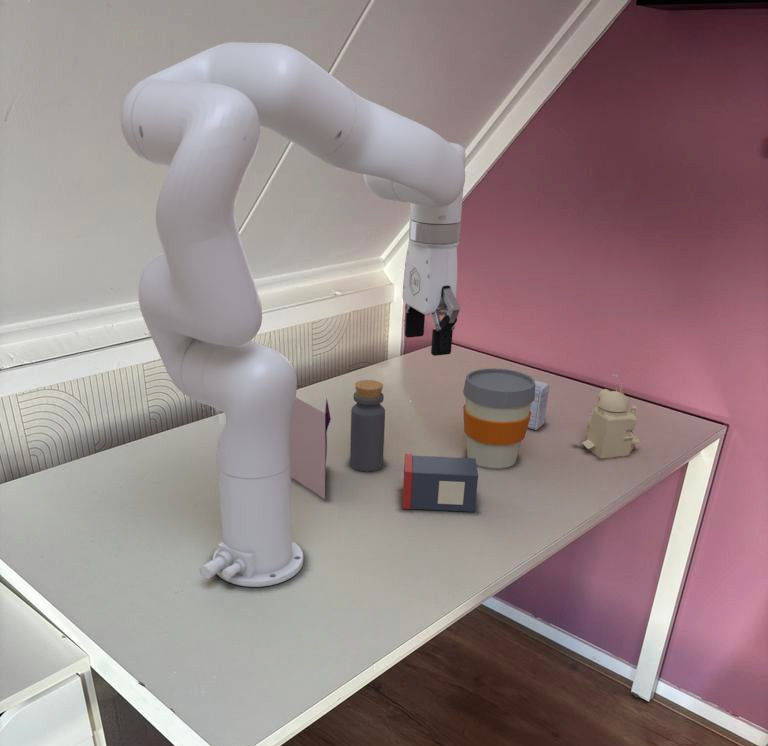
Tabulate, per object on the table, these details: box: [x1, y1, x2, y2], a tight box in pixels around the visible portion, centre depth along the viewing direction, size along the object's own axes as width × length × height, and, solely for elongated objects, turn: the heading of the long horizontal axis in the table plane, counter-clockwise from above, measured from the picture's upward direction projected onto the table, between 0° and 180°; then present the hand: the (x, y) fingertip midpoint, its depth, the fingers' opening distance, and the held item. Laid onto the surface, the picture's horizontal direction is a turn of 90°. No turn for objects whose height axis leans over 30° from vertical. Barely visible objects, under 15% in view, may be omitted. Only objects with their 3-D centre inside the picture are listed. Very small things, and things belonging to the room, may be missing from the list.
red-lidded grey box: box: [402, 453, 479, 513], centre depth 130 cm, size 12×7×7 cm, turn 88°
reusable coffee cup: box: [462, 368, 536, 469], centre depth 144 cm, size 13×13×15 cm
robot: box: [578, 373, 641, 459], centre depth 149 cm, size 10×8×15 cm
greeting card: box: [290, 397, 332, 500], centre depth 132 cm, size 11×7×15 cm, turn 3°
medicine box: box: [527, 379, 550, 431], centre depth 160 cm, size 8×4×9 cm, turn 58°
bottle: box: [349, 379, 386, 472], centre depth 139 cm, size 6×6×15 cm
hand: (427, 345), depth 128 cm, fingers open, 9 cm apart
